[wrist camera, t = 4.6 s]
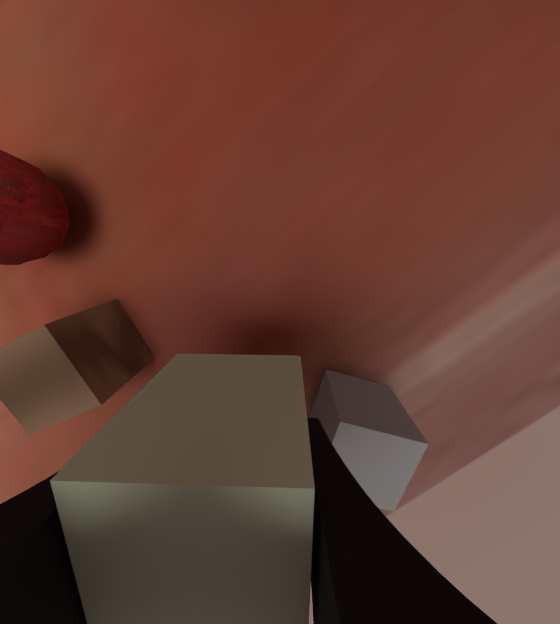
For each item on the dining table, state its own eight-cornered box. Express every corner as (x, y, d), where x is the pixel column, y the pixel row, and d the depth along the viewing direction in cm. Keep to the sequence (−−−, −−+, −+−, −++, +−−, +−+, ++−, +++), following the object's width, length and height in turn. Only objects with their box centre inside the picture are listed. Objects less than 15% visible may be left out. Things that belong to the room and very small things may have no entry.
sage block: (298, 458, 12) (306, 662, 6) (187, 456, 12) (94, 652, 6) (300, 355, 11) (314, 488, 5) (177, 353, 11) (49, 480, 5)
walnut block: (155, 357, 20) (101, 404, 14) (101, 381, 21) (29, 435, 15) (118, 298, 19) (44, 325, 13) (62, 326, 20) (-31, 362, 14)
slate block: (365, 438, 22) (394, 511, 16) (306, 423, 21) (312, 491, 16) (388, 385, 20) (428, 444, 14) (325, 368, 20) (340, 421, 14)
